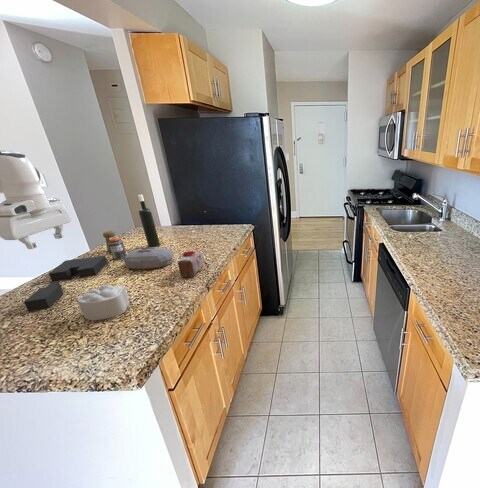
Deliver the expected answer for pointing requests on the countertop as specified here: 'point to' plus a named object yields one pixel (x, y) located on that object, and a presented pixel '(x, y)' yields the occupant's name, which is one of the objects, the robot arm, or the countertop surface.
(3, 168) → the robot arm
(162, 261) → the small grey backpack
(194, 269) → the food item
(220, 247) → the countertop surface
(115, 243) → the pill bottle
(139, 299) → the countertop surface
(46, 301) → the pad
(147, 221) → the wine bottle
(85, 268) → the base pad
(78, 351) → the countertop surface
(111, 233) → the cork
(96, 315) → the lumpy-topped squat cylinder
